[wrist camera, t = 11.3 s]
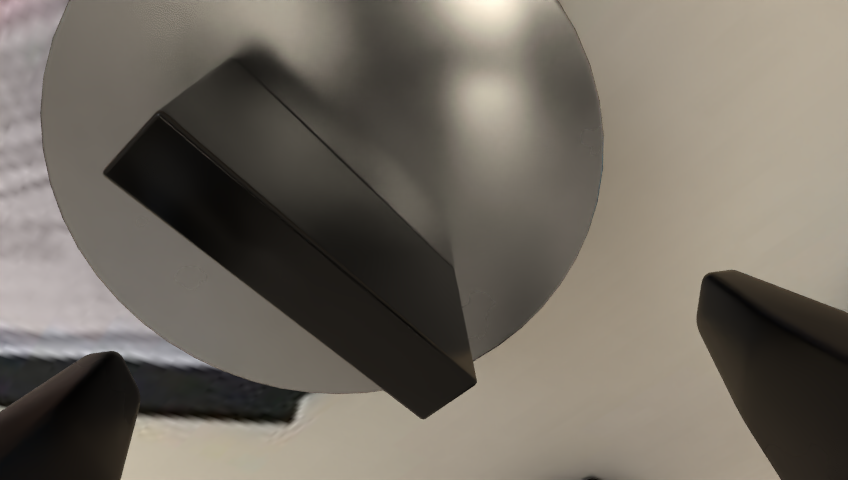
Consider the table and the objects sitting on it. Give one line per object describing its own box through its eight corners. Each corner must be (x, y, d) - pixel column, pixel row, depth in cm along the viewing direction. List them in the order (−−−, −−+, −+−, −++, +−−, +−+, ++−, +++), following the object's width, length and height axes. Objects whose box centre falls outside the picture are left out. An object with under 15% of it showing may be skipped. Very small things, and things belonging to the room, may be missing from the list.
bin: (127, -123, 15) (-330, -226, 6) (562, -90, 16) (821, -129, 7) (191, 260, 21) (25, 533, 12) (507, 267, 22) (599, 524, 12)
